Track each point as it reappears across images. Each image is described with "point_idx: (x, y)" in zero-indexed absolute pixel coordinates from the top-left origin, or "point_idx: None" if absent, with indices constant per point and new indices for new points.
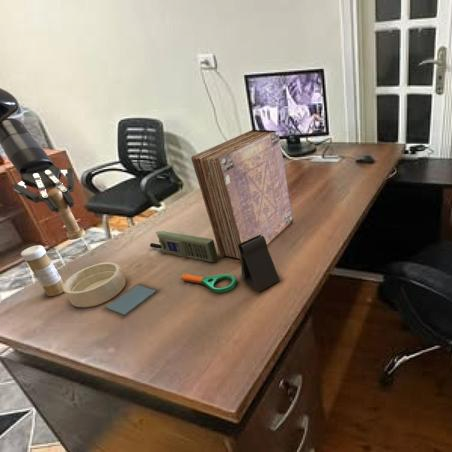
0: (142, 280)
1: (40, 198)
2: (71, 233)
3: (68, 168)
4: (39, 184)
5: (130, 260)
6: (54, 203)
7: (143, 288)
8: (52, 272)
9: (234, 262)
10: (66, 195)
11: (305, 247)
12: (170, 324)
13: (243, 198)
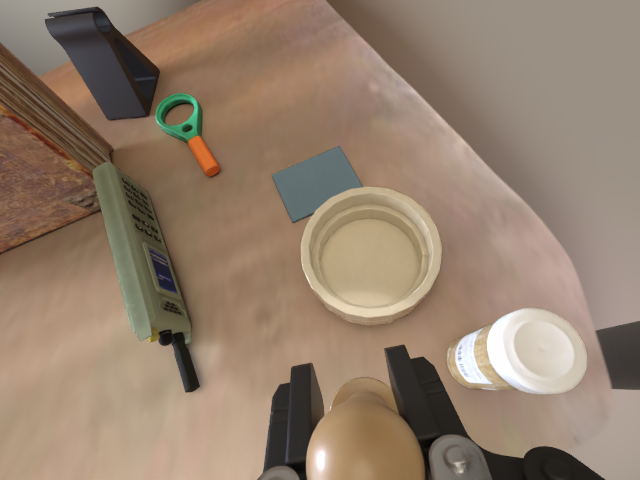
0: (279, 239)
1: (503, 463)
2: (381, 396)
3: None
4: None
5: (271, 370)
6: (396, 374)
7: (287, 199)
8: (472, 334)
9: (124, 166)
10: (292, 426)
11: None
12: (287, 85)
13: None
